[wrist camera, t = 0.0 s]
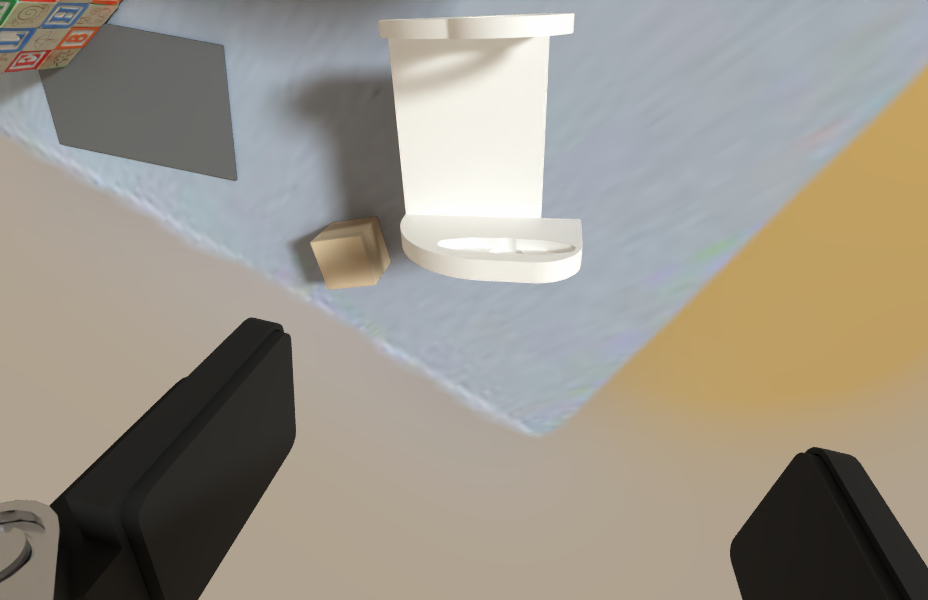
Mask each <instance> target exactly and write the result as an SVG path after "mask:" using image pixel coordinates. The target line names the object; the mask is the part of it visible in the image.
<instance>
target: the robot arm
mask: <svg viewBox="0 0 928 600" xmlns="http://www.w3.org/2000/svg"><path fill="white" fill-rule="evenodd" d="M295 436H296V424H295V405H294V385H293V368H292V347H291V337H290V335H289V334H287V333H284V330H283V327H282V325H280V324H278V323H274V322H270V321H265V320H261V319H256V318H248V319H246V320H245V321H244V322H243V323H242V324H241V325H240V326H239V327H238V328H237V329H236V330H235V331H234V332H233V333H232V334H231V335H229V336H228V337H227V338H226V339H225V340H224V341H223V342H222V343H221V344H220V345H219V346H218V347H217V348H216V349H215V350H214V351H213V352H212V353H211V354H210V355H209V356H208V357H207V358H206V359H205V360H204V361H203V362H202V363H201V364H200V365H199V366H198V367H197V368H196V369H195V370H194V371H193V372H192V373H191V374H190V375H189V376H188V377H185V378H183V379H181V380H180V381H179V382H177V383H176V384H175V385H174V386H173V387H172V388H171V389H170V390H169V391H168V392H167V393H166V394H165V395H163V396H162V397H161V399H159V400H158V401H157V402H156V403H155V404H154V405H153V406H152V407H151V408H150V409H149V410H148V411H147V412H146V413H145V414H144V415H143V416H142V417H141V418H140V419H139V420H138V421H137V422H136V423H134V424H133V425H132V426H131V427H130V428H129V429H128V430H127V431H126V432H125V433H124V434H123V435H122V436H121V437H120V438H119V439H118V440H117V441H116V442H115V443H114V444H113V445H112V446H111V447H110V448H109V449H108V450H107V451H105V453H103V454H102V455H101V456H100V457H99V458H98V459H97V460H96V461H95V462H94V463H93V464H92V465H91V466H90V467H89V468H88V469H87V470H86V471H85V472H84V473H83V474H82V475H81V476H80V477H79V478H78V479H77V480H75V482H73V483H72V484H71V485H70V486H69V487H68V488H67V489H66V490H65V491H64V492H63V493H62V494H61V495H60V496H59V497H58V498H57V499H56V500H55V501H54V502H53V503H52V504H51V505H50V506H48V505H45V504H43V503H40V502H37V501H28V500H15V501H9V502H4V503H0V600H198V599H199V597H200V596H201V594H202V592H203V591H204V589H205V587H206V586H207V584H208V583H209V581H210V579H211V578H212V576H213V575H214V573H215V571H216V570H217V568H218V567H219V565H220V563H221V562H222V560H223V558H224V557H225V555H226V554H227V552H228V550H229V549H230V547H231V546H232V544H233V542H234V541H235V539H236V538H237V536H238V534H239V533H240V531H241V529H242V528H243V526H244V524H245V523H246V521H247V520H248V518H249V516H250V515H251V513H252V512H253V510H254V508H255V507H256V505H257V504H258V502H259V500H260V499H261V497H262V496H263V494H264V492H265V491H266V489H267V488H268V486H269V484H270V483H271V481H272V479H273V478H274V476H275V475H276V473H277V471H278V470H279V468H280V467H281V465H282V463H283V462H284V460H285V459H286V457H287V455H288V454H289V452H290V450H291V448H292V446H293V443H294V440H295ZM730 557H731V562H732V566H733V569H734V573H735V575H736V579H737V582H738V586H739V589H740V592H741V596H742V599H743V600H928V568H927V566H926V564H925V563H924V561H923V560H922V558H921V557H920V555H919V554H918V552H917V550H916V549H915V547H914V546H913V544H912V543H911V541H910V540H909V538H908V536H907V535H906V533H905V532H904V530H903V529H902V527H901V526H900V524H899V522H898V521H897V520H896V518H895V516H894V515H893V513H892V512H891V510H890V509H889V507H888V506H887V504H886V502H885V501H884V499H883V498H882V496H881V495H880V493H879V491H878V490H877V488H876V487H875V485H874V484H873V482H872V481H871V479H870V478H869V476H868V474H867V473H866V471H865V470H864V468H863V467H862V465H861V464H860V462H859V461H858V460H857V459H856V458H855V457H853V456H851V455H849V454H844V453H840V452H836V451H831V450H827V449H822V448H817V447H813V448H810V449H808V450H807V451H806V452H805V453H799V454H797V455H796V456H795V457H794V458H793V460H792V461H791V462H790V464H789V465H788V466H787V468H786V469H785V470H784V472H783V473H782V474H781V476H780V477H779V478H778V480H777V481H776V482H775V484H774V485H773V486H772V488H771V489H770V491H769V492H768V493H767V494H766V496H765V497H764V499H763V500H762V501H761V503H760V504H759V505H758V507H757V508H756V509H755V511H754V512H753V513H752V515H751V516H750V517H749V519H748V520H747V521H746V523H745V524H744V525H743V527H742V528H741V530H740V531H739V532H738V534H737V535H736V536H735V538H734V539H733V541H732V543H731V548H730Z"/></svg>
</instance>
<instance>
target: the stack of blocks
mask: <svg viewBox="0 0 928 600" xmlns="http://www.w3.org/2000/svg"><path fill="white" fill-rule="evenodd" d="M120 1H121V0H0V74H1V73H3V72H15V71H23V70H31V69H39V70H41V69H49V68H56V67H64V66H67V65H68V64H69V62H70V61H71V60H72V59H73V58H74V57H75V55H76V54H77V53H78V52H79V51H80V50H81V48H83V47H84V46H85V45H86V44H87V43H88V42H89V41H90V39H91V38H92V37H93V36H94V35H95V33H96V32H97V31H98V30H99V29H100V27H101V26H102V25H103V24H104V23H105V22H106V21H107V20H108V18H109V17H110V16H111V15H112V14H113V12H114V11H115V10H116V9H117V8H118V6H119V2H120Z"/></svg>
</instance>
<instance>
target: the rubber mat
mask: <svg viewBox="0 0 928 600" xmlns="http://www.w3.org/2000/svg"><path fill="white" fill-rule="evenodd" d="M39 73H40V76H41V80H42V83H43V87H44V90H45V94H46V97H47V101H48V104H49V108H50V111H51V115H52V118H53V122H54V125H55V129H56V132H57V136H58V139H59V143H60V144H63V145H68V146H73V147H77V148H82V149H87V150H92V151H97V152H101V153H106V154H111V155H116V156H120V157H125V158H130V159H135V160H140V161H144V162H149V163H154V164H159V165H164V166H168V167H173V168H178V169H183V170H188V171H192V172H197V173H202V174H207V175H211V176H216V177H221V178H226V179H231V180H235V181H236V180H237V172H236V162H235V152H234V142H233V133H232V123H231V113H230V103H229V93H228V84H227V74H226V64H225V54H224V46H223V45H218V44H213V43H207V42H202V41H197V40H191V39H186V38H181V37H175V36H170V35H165V34H159V33H154V32H149V31H143V30H138V29H133V28H127V27H122V26H117V25H111V24H106V23H104V24H103V25H102V26H101V27H100V29H99V30H98V31H97V32H96V33H95V35H94V36H93V37H92V38H91V39H90V41H89V42H88V43H87V44H86V45H85V46H84V47H83V48H81V50H80V51H79V52H78V53H77V54H76V55H75V57H74V58H73V59H72V60H71V61H70V62H69V64H68V65H67V66H64V67H56V68H49V69H41V70H39Z"/></svg>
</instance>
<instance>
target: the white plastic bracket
mask: <svg viewBox="0 0 928 600" xmlns="http://www.w3.org/2000/svg"><path fill="white" fill-rule="evenodd" d="M378 25H379V34H380V38H388V41H389V50H390V60H391V70H392V80H393V90H394V100H395V110H396V120H397V130H398V140H399V150H400V160H401V170H402V180H403V190H404V200H405V210H406V215H405V216H404V217H403V219H402V221H401V224H400V229H401V238H402V247H403V250H404V252H405V254H406V255H407V257H408V258H409V259H410V260H412V261H413V262H414V263H416V264H417V265H419V266H421V267H423V268H425V269H427V270H430V271H432V272H435V273H438V274H442V275H446V276H450V277H456V278H462V279H470V280H483V281H503V282H522V283H550V282H556V281H560V280H564V279H566V278H569V277H571V276H573V275H574V274H576V273H577V272H578V271H579V269H580V266H581V257H582V246H583V243H582V229H581V219H556V218H541V211H542V189H543V167H544V146H545V124H546V102H547V80H548V59H549V37H550V36H552V35H563V34H571V33H573V28H574V13H559V14H551V13H543V14H518V15H492V16H467V17H442V18H416V19H391V20H378Z"/></svg>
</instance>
